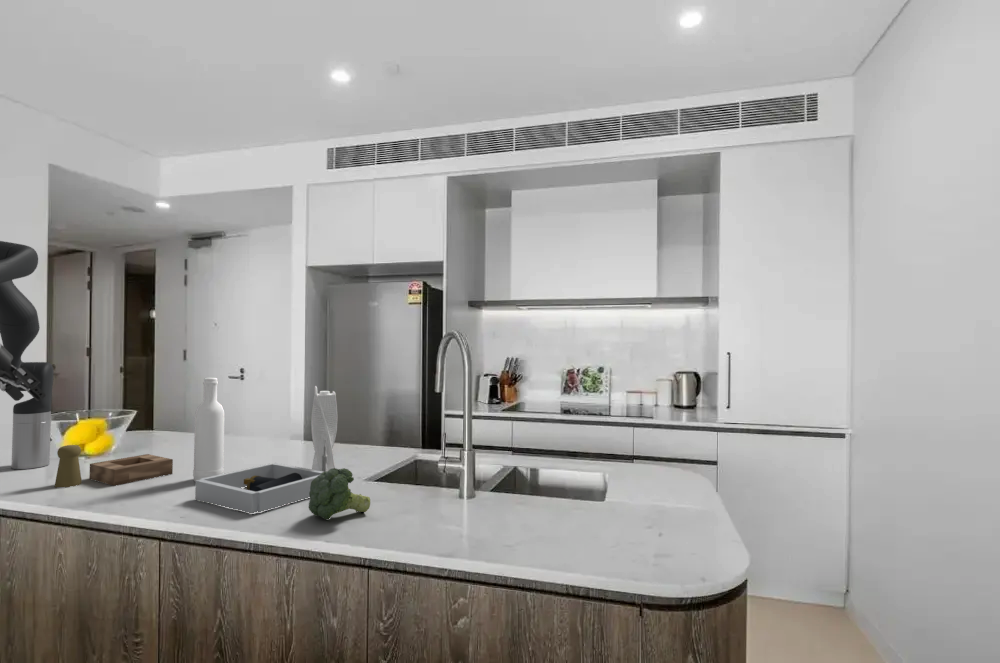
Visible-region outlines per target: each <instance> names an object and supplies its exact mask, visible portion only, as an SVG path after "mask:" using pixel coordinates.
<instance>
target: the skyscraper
mask: <svg viewBox="0 0 1000 663" xmlns="http://www.w3.org/2000/svg"><path fill="white" fill-rule="evenodd" d="M313 395H314V396H313V401H312V407H311V421H310V422H311V424H310V427H311V428H310V429H311V431H310V432H311V438H312V444H313V449H314V453H313V454H314V455H313V459H312V466H311V469H312V470H317V471H323V472H325V471H328V470H330V469H332V468H336V465H335V463H336V462H335V458H334V452H333V451H334V450H333V448H334V446H335V442H336V436H337V431H338V419H339V416H338V414H339V413H338V403H337V396H336V395H337V393H336V392H335V391H334V390H332V392H331V391H329V390H320V391H319V393H318V387H317V385H315V386H314V394H313Z"/></svg>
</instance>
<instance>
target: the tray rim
mask: <svg viewBox="0 0 1000 663" xmlns="http://www.w3.org/2000/svg"><path fill="white" fill-rule="evenodd" d="M322 472H323V471H317V470H312V468H306V467H301V466H296V465H295V466H294V465H291V464H290V465H289V464H285V463H278V462H274V463H265V464H260V465H256V466H252V467H248V468H244V469H243V468H242V469H238V470H234V471H230V472H226V473H225V472H223V474H220V475H215V476H211V477H206V478H202V479H200V480H196V482H195V491H194V492H195V493H194V494H195V497H194V500H195V499H196V500H200V501H204V502H209V503H213V504H217V505H221V506H225V507H229V508H233V509H238V510H242V511H245V512H249V513H254V512H257V511H258V512H261V511H264V510H268V509H271V508H275V507H278V506H282V505H284V504H288V503H291V502H295V501H298V500H301V499H305V498H308V497H310V496H309V492H310V486H311V482H312V480H314V479H315V478H316V477H318V476H319V475H320V474H321V473H322ZM292 473H298V474H300V475H301V477H302V480H298V481H294V482H291V483H287V484H283V485H280V486H276V487H272V488H268V489H265V490H261V491H257V492H255V491H250V490H246V488H244V489H242V488H241V487H245V486H247V485H245V484H244V479H246V478H251V477H252V476H255V475H256V476H261V477H267V478H275V479H277V478H280V477H283V476H286V475H289V474H292ZM196 500H195V501H196ZM200 501H199V502H200ZM204 502H203V503H204Z"/></svg>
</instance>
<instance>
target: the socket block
mask: <svg viewBox="0 0 1000 663" xmlns="http://www.w3.org/2000/svg"><path fill="white" fill-rule="evenodd" d="M173 459H174V458H168V457H165V456H164V457H163V456H159V455H153V454H149V453H146V454H140V455H132V456H128V457H123V458H122V457H121V458H115V459H109V460H104V461H99V462H98V461H97V462H90V463H89V475H88V476H89V480H91V479H92V480H91V481H94V480H96V481H95V482H98V481H99V482H98V483H102V482H103V483H102V484H105V483H106V485H109V486H114V487H116V485H117V486H121V485H126V484H131V483H135V482H140V481H145V479H146V480H150V478H151V479H155V478H154V477H156V478H160V477H159V476H161V477H164V476H163V475H165V476H169V475H168V474H170V475H173V472H174V471H173V467H174V466H173V465H174V461H173Z"/></svg>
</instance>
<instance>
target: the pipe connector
mask: <svg viewBox="0 0 1000 663" xmlns="http://www.w3.org/2000/svg"><path fill="white" fill-rule="evenodd" d="M298 480H302V477H301V475H300V474H298V473H292V474H289V475H286V476H283V477H280V478H277V479H275V478H267V477H261V476H256V475H255V476H252V477H251V478H246V479H244V484H245V485H247V487H246V488H245V489H246V490H250V491H255V492H257V491H261V490H265V489H268V488H272V487H276V486H280V485H283V484H287V483H291V482H294V481H298Z"/></svg>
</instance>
